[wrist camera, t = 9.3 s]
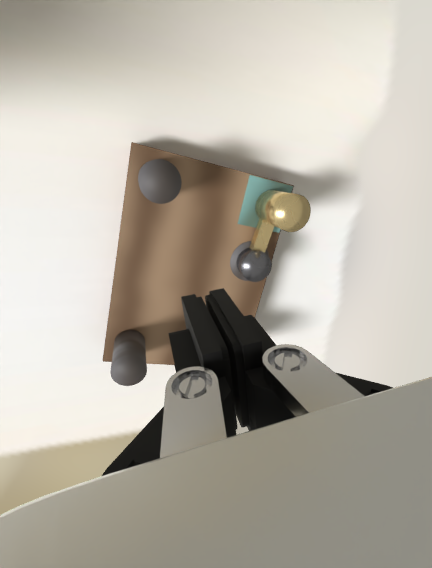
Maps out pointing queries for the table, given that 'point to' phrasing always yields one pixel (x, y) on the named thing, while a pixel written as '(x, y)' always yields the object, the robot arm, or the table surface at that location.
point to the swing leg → (271, 229)
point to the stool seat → (177, 252)
